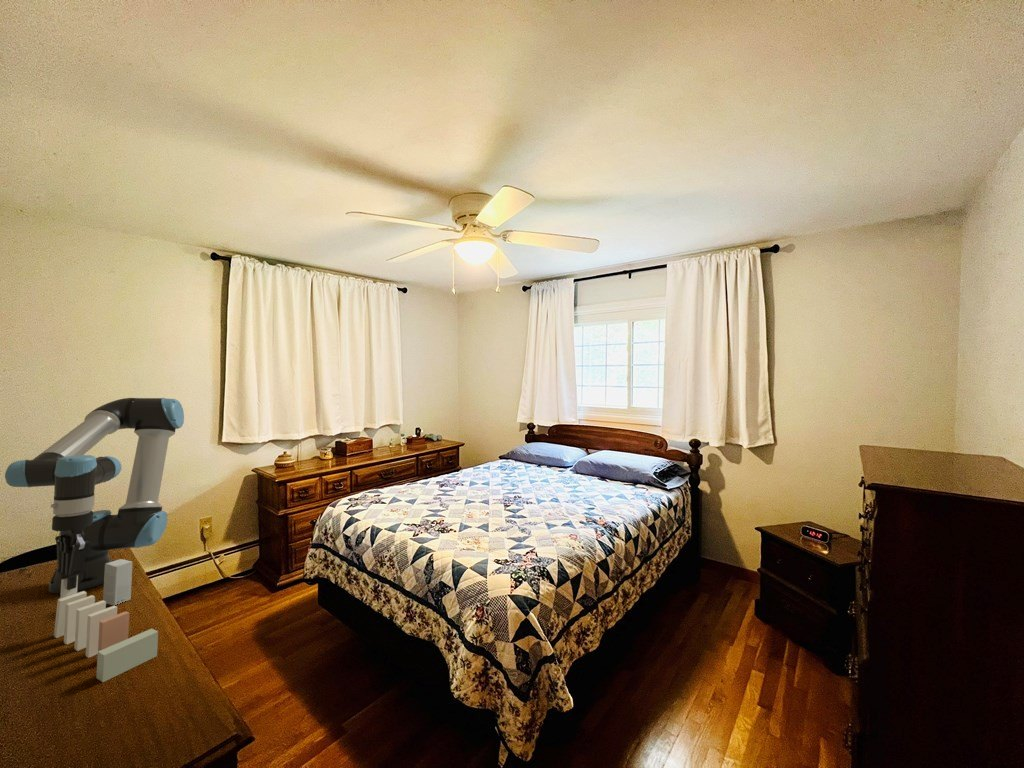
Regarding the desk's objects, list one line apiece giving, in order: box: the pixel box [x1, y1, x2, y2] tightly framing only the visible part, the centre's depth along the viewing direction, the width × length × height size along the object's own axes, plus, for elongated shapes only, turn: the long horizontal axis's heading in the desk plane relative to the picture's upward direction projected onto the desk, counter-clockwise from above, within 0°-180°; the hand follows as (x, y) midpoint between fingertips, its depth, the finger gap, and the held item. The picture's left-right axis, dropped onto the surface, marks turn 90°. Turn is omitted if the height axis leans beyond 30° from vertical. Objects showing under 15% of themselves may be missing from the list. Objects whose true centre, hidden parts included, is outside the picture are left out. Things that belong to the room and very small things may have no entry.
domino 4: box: [85, 605, 118, 659], centre depth 100 cm, size 2×5×10 cm, turn 156°
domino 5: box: [98, 610, 130, 651], centre depth 97 cm, size 2×5×10 cm, turn 156°
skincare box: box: [102, 558, 133, 606], centre depth 123 cm, size 6×4×12 cm
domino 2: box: [63, 594, 96, 645], centre depth 105 cm, size 2×5×10 cm, turn 156°
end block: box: [95, 628, 159, 683], centre depth 94 cm, size 3×10×6 cm, turn 156°
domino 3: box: [73, 599, 107, 652], centre depth 102 cm, size 2×5×10 cm, turn 156°
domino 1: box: [53, 590, 88, 639], centre depth 107 cm, size 2×5×10 cm, turn 156°
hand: (68, 600), depth 107 cm, fingers closed
